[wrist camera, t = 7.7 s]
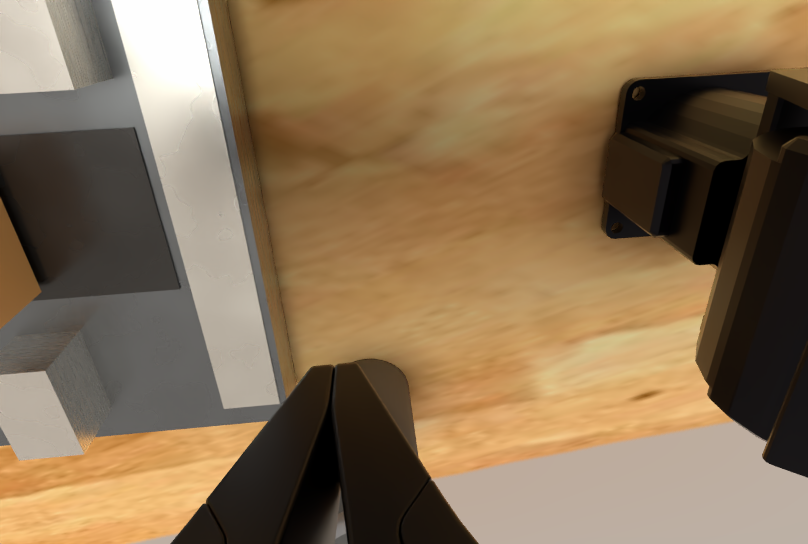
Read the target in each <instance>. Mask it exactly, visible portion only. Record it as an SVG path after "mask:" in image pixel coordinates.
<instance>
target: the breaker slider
mask: <svg viewBox="0 0 808 544" xmlns="http://www.w3.org/2000/svg"><path fill="white" fill-rule="evenodd" d="M40 293H41V289H40V287H39V285H38V282H37V280H36V278H35V276H34V273H33V271H32V269H31V266H30V264H29V262H28V259H27V257H26V255H25V253H24V250H23V248H22V246H21V243H20V241H19V239H18V236H17V234H16V232H15V230H14V227H13V225H12V223H11V220H10V218H9V216H8V213H7V211H6V209H5V207H4V204H3V202H2V200H1V197H0V329H1V328H2V327H3V326H4V325H5V324H7V323H8V322H9V321H10V320H11V319H12V318H13V317H14V316H15V315H17V314H18V313H19V312H20V311H21V310H22V309H23V308H24V307H25V306H26V305H28V304H29V303H30V302H31V301H32V300H33V299H34V298H35V297H36V296H38V295H39V294H40Z"/></svg>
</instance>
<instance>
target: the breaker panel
mask: <svg viewBox="0 0 808 544" xmlns="http://www.w3.org/2000/svg"><path fill="white" fill-rule="evenodd" d="M0 197H1V200H2V202H3V204H4V207H5V209H6V211H7V213H8V216H9V218H10V220H11V223H12V225H13V227H14V230H15V232H16V234H17V236H18V239H19V241H20V243H21V246H22V248H23V250H24V253H25V255H26V257H27V259H28V262H29V264H30V266H31V269H32V271H33V273H34V276H35V278H36V280H37V282H38V285H39V287H40V289H41V293H40V294H39V295H38V296H36V297H35V298H34V299H33V300H32V301H31V302H30V303H29V304H28V305H26V306H25V307H24V308H23V309H22V310H21V311H20V312H19V313H18V314H17V315H15V316H14V317H13V318H12V319H11V320H10V321H9V322H8V323H7V324H5V325H4V326H3V327H2V328H1V329H0V446H4V445H11V447H12V448H13V450H14V452H15V454H16V456H17V457H18V459H19V460H29V459H40V458H50V457H61V456H71V455H82V454H85V452H86V451H87V449H88V447H89V446H90V444H91V443H92V441H93V439H94V438H95V437H101V436H112V435H122V434H133V433H144V432H155V431H165V430H176V429H187V428H197V427H208V426H219V425H230V424H240V423H251V422H262V421H269V420H270V419H271V417H272V416H273V415H274V414H275V412H276V411H277V410H278V408H279V407H280V406H281V405H282V403H283V402H284V401H285V400H286V398H287V397H288V396H289V395H290V393H291V392H292V391H293V390H294V388H295V387H296V378H295V373H294V367H293V362H292V356H291V351H290V345H289V340H288V334H287V329H286V323H285V318H284V312H283V307H282V302H281V296H280V291H279V285H278V280H277V274H276V269H275V263H274V258H273V252H272V247H271V241H270V236H269V230H268V225H267V220H266V214H265V209H264V203H263V198H262V192H261V187H260V181H259V176H258V170H257V165H256V159H255V154H254V148H253V143H252V137H251V132H250V127H249V121H248V116H247V110H246V105H245V99H244V94H243V88H242V83H241V77H240V72H239V66H238V61H237V55H236V50H235V45H234V39H233V34H232V28H231V23H230V17H229V12H228V6H227V1H226V0H0Z"/></svg>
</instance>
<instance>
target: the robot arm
mask: <svg viewBox="0 0 808 544" xmlns="http://www.w3.org/2000/svg"><path fill="white" fill-rule="evenodd" d="M637 87H639V88H640V94H639V96H637V97H636V98H634V99H633V98H632V93H633V91H634V89H636V88H637ZM602 197H603V198H604V199H605V206H604V212H603V219H602V230H603V232H604V233H605V234H606V235H607V236H608V237H610V238H614V239H617V238H630V237H643V236H652V237H655V238H656V237H660V238H661V239H662V240H664V241H665V242H666V243H668V244H669V245H670V246H672V247H673V248H674V249H675V250H677V251H678V252H679V253H681V254H682V255H683V256H685V257H686V258H687V259H689V260H690V261H691V262H693V263H694V264H696V265H707V264H710V265H711V266H712V267H714V268H715V269H717V271H716V275H715V279H714V282H713V286H712V290H711V293H710V297H709V301H708V304H707V308H706V312H705V315H704V316H703V320H702V324H701V327H700V334H699V337H698V341H697V348H696V360H695V361H696V363H697V365H698V367H699V369H700V371H701V373H702V375H703V377H704V379H705V381H706V382H707V384H708V385H709V389H708V393H707V395H708V397H709V398H710V399H711V400H712V401H713V402H714V403H715V404H716V405H717V406H718V407H719V408H720V409H721V410H722V411H723V412H724V413H725V414H726V415H728V416H729V417H730V418H731V419H732V420H733V421H735V422H736V423H738V424H739V425H741V426H742V427H743V428H745V429H746V430H748V431H749V432H751V433H752V434H754V435H755V436H756V437H758V438H760V439H762V440H764V441H766V442H767V444H766V446H765V449H764V452H763V454H762V457H763V459H764V460H765V461H766V462H768V463H769V464H771V465H774V466H777V467H780V468H782V469H785V470H788V471H791V472H793V473H796V474H799V475H802V476H805V477H808V68H792V69H775V70H766V71H749V72H733V73H716V74H699V75H682V76H666V77H649V78H635V79H631V80H630V81H628V82H627V83H626V84H625V85H624V87H623V89H622V92H621V97H620V104H619V110H618V117H617V124H616V131H615V134H614V135H613V136H612V137H611V139H610V143H609V150H608V157H607V164H606V171H605V178H604V185H603V192H602ZM617 222H618V223H619V224H618V227H617V228H615V229H613V230H611V227H612V225H613V224H615V223H617ZM340 491H341V497H342V505H343V512H344V520H345V527H346V535H347V543H348V544H478V542H477V541H476V540H475V539H474V537H473V536H472V535H471V533H470V532H469V531H468V530H467V528H466V527H465V526H464V525H463V524H462V522H461V521H460V520H459V518H458V517H457V515H456V514H455V512H454V511H453V509H452V508H451V507H450V505H449V504H448V502H447V501H446V499H445V498H444V496H443V495H442V493H441V492H440V490H439V489H438V487H437V486H436V484H435V482H434V481H432V480H431V477H430V475H429V473H428V472H427V470H426V469H425V467H424V466H423V464H422V463H421V461H420V459H419V458H418V456H417V455H416V453H415V452H414V450H413V448H412V447H411V445H410V444H409V442H408V441H407V439H406V438H405V436H404V434H403V433H402V431H401V430H400V428H399V427H398V425H397V424H396V422H395V420H394V419H393V417H392V416H391V414H390V413H389V411H388V409H387V408H386V406H385V405H384V403H383V402H382V400H381V399H380V397H379V395H378V394H377V392H376V391H375V389H374V388H373V386H372V384H371V383H370V381H369V380H368V378H367V377H366V375H365V374H364V372H363V370H362V369H361V367H360V366H359V364H357V363H343V364H337V365H336V366H335V367H334V366H333V365H320V366H313V367H311V368H310V369H309V371H308V372H307V373H306V374H305V376H304V377H303V378H302V379H301V381H300V382H299V383H298V384H297V386H296V387H295V388H294V390H293V391H292V392H291V393H290V395H289V396H288V397H287V398H286V400H285V401H284V402H283V403H282V405H281V406H280V407H279V408H278V410H277V411H276V412H275V414H274V415H273V416H272V417H271V419H270V420H269V421H268V422H267V424H266V425H265V426H264V427H263V429H262V430H261V431H260V433H259V434H258V435H257V436H256V438H255V439H254V440H253V441H252V443H251V444H250V445H249V446H248V448H247V449H246V450H245V452H244V453H243V454H242V455H241V457H240V458H239V459H238V460H237V462H236V463H235V464H234V465H233V467H232V468H231V469H230V470H229V472H228V473H227V474H226V476H225V477H224V478H223V479H222V481H221V482H220V483H219V484H218V486H217V487H216V488H215V489H214V491H213V492H212V493H211V495H210V496H209V497H208V498H207V500H206V504H202V506H201V507H200V508H199V509H198V511H197V512H196V513H195V514H194V516H193V517H192V518H191V520H190V521H189V522H188V523H187V524H186V526H185V527H184V528H183V529H182V530H181V532H180V533H179V534H178V535H177V536H176V538H175V539H174V540H173V542H172V543H171V544H335V538H336V529H337V520H338V511H339V502H340Z"/></svg>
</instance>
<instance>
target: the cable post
mask: <svg viewBox="0 0 808 544" xmlns="http://www.w3.org/2000/svg"><path fill="white" fill-rule="evenodd" d="M353 363H357V364H359V366H360V367H361V369H362V370H363V372H364V374H365V375H366V377H367V378H368V380H369V381H370V383H371V384H372V386H373V388H374V389H375V391H376V392H377V394H378V395H379V397H380V399H381V400H382V402H383V403H384V405H385V406H386V408H387V409H388V411H389V413H390V414H391V416H392V417H393V419H394V420H395V422H396V424H397V425H398V427H399V428H400V430H401V431H402V433H403V434H404V436H405V438H406V439H407V441H408V442H409V444H410V445H411V447H412V448H413V450H414V452H415V453H416V455H417V456H418V451H417V444H416V437H415V429H414V422H413V415H412V408H411V400H410V393H409V386H408V382H407V379H406V377H405V375H404V374H403V372H402V371H401V370H400V369H398V368H397V367H396V366H394V365H392V364H390V363H388V362H385V361H382V360H376V359H365V360H359V361H355V362H353ZM335 544H348V543H347V535H346V527H345V520H344V512H343V505H342V497H341V491H340V502H339V511H338V520H337V529H336V538H335Z"/></svg>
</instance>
